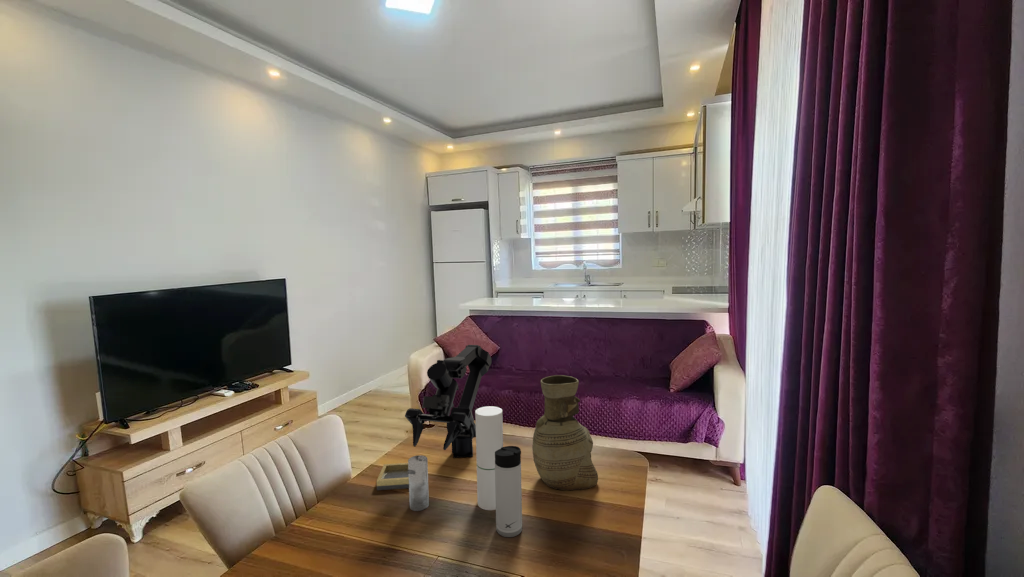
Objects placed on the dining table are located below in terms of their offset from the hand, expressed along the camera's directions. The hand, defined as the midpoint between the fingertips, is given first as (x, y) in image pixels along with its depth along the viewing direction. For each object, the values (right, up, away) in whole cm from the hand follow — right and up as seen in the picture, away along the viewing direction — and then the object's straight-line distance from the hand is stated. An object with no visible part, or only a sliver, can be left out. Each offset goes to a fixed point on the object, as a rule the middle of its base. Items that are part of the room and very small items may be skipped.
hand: (429, 447), depth 117 cm
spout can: (-2, -13, -7) cm, 15 cm away
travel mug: (+23, -14, -16) cm, 31 cm away
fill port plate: (-11, -12, +8) cm, 18 cm away
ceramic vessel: (+39, -12, +6) cm, 41 cm away
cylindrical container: (+18, -13, -5) cm, 22 cm away
